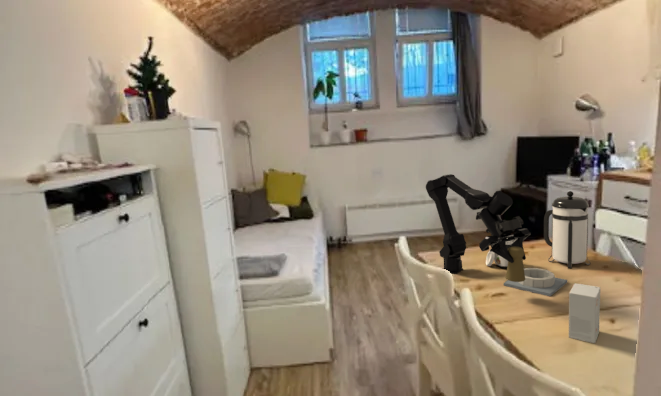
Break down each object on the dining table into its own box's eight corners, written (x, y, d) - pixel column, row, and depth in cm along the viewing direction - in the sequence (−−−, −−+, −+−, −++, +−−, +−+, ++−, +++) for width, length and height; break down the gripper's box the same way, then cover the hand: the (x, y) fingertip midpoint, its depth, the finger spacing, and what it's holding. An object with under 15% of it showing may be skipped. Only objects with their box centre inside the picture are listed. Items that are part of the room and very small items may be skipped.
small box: (573, 325, 115) (574, 282, 113) (599, 331, 111) (601, 286, 109) (567, 337, 109) (568, 292, 107) (595, 344, 105) (596, 297, 103)
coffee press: (590, 258, 167) (592, 188, 163) (590, 271, 154) (592, 194, 150) (543, 254, 177) (544, 187, 172) (540, 266, 164) (540, 193, 159)
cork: (528, 281, 132) (528, 249, 130) (508, 282, 133) (509, 250, 131) (521, 275, 138) (521, 244, 136) (503, 275, 139) (503, 245, 137)
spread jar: (523, 268, 162) (523, 240, 160) (498, 273, 160) (498, 244, 158) (503, 260, 174) (503, 234, 172) (480, 264, 171) (480, 237, 169)
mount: (503, 285, 147) (503, 275, 146) (522, 273, 157) (522, 263, 157) (550, 296, 135) (550, 285, 134) (567, 282, 145) (567, 272, 145)
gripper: (485, 213, 132) (512, 254, 124) (526, 205, 139) (554, 243, 131) (468, 231, 140) (492, 270, 132) (508, 223, 147) (533, 260, 139)
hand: (518, 261), depth 133 cm, fingers closed on cork, 5 cm apart
